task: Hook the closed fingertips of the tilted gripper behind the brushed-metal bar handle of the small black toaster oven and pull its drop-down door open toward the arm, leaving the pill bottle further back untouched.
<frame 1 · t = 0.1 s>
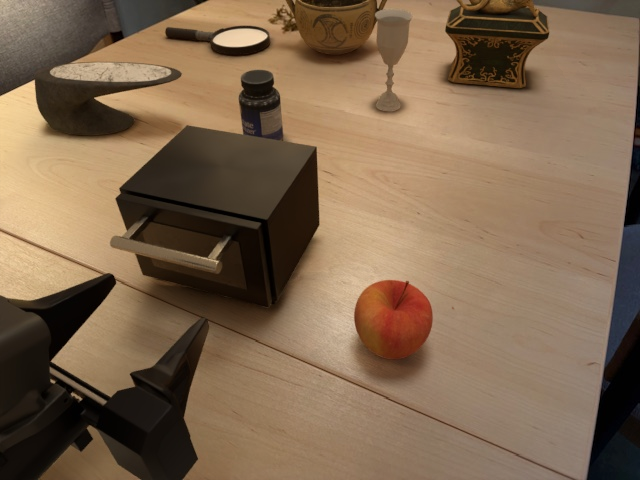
hand: (158, 298, 39), 14 cm above the table, tool horizontal, fingers open, 9 cm apart
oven: (238, 258, 63), on the table
oven door: (184, 266, 51), point 8 cm above the table, hinge at 0.0°
decorative box: (477, 76, 98), on the table
magnifying glass: (217, 43, 114), on the table
pill bottle: (264, 144, 82), on the table
ceramic bowl: (335, 49, 110), on the table
coffee table: (121, 125, 88), on the table
chalice: (388, 106, 90), on the table
apple: (390, 345, 53), on the table
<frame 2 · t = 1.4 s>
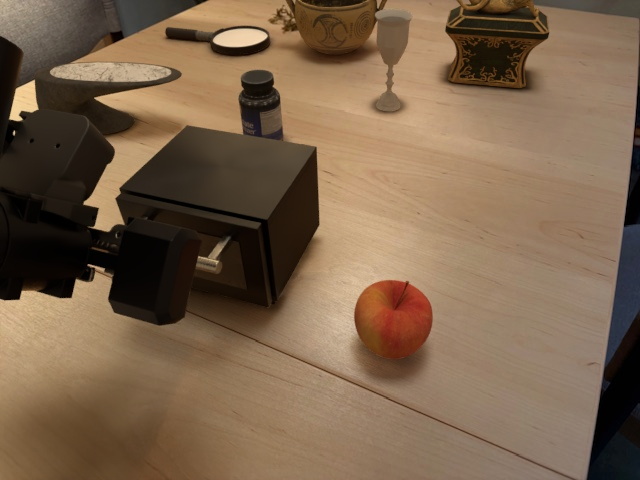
hand: (138, 254, 43), 14 cm above the table, tool tilted 45°, fingers open, 5 cm apart
nothing on the table moved.
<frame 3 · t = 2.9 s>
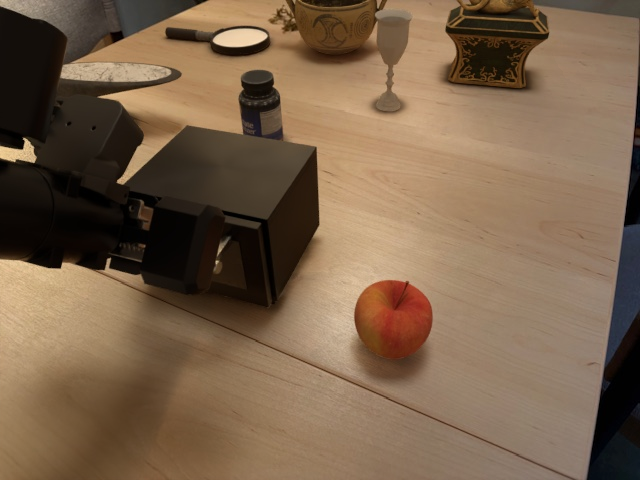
hand: (160, 235, 46), 13 cm above the table, tool tilted 45°, fingers closed
nothing on the table moved.
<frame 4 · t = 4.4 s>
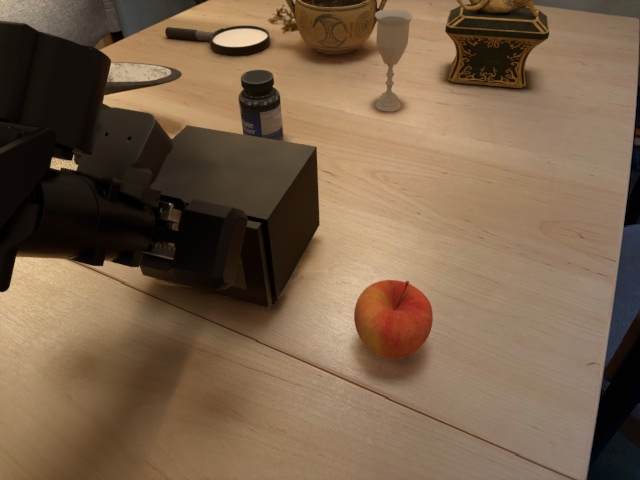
hand: (183, 233, 50), 11 cm above the table, tool tilted 45°, fingers closed, pressing on oven door
oven door: (184, 266, 51), point 7 cm above the table, hinge at 0.0°, touching gripper
everything else where it was.
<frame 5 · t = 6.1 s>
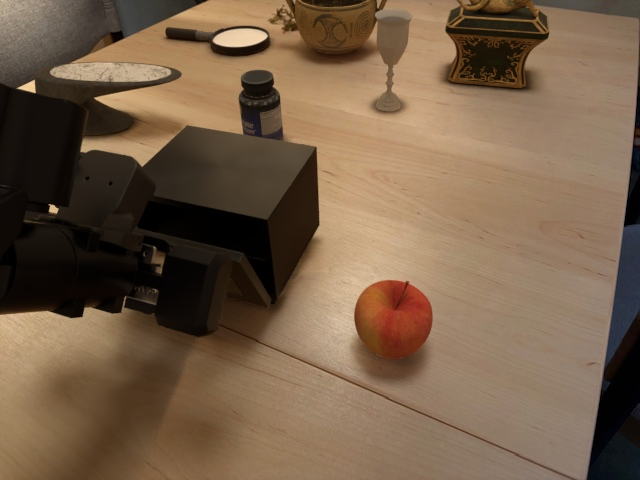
hand: (170, 269, 49), 9 cm above the table, tool tilted 45°, fingers closed, pressing on oven door
oven door: (177, 285, 50), point 7 cm above the table, hinge at 20.7°, touching gripper
everything else where it was.
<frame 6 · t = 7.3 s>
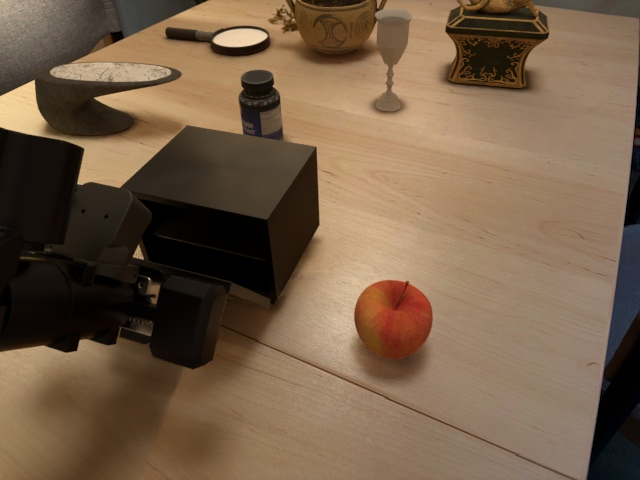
hand: (166, 295, 49), 7 cm above the table, tool tilted 45°, fingers closed, pressing on oven door
oven door: (174, 300, 50), point 6 cm above the table, hinge at 35.6°, touching gripper
everything else where it was.
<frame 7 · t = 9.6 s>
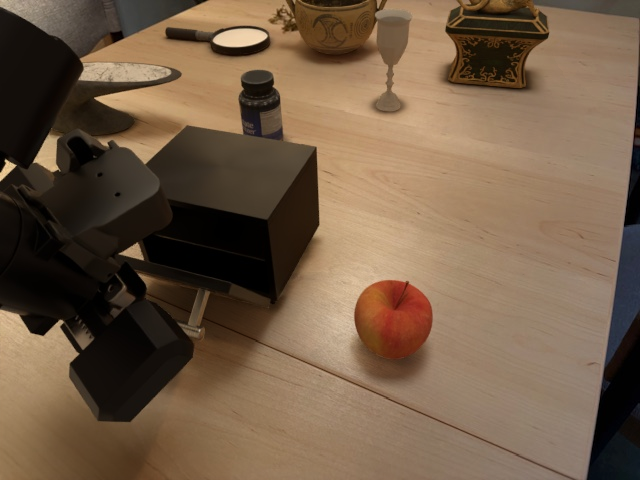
hand: (146, 308, 41), 12 cm above the table, tool tilted 30°, fingers closed
oven door: (174, 300, 50), point 5 cm above the table, hinge at 35.9°
everything else where it was.
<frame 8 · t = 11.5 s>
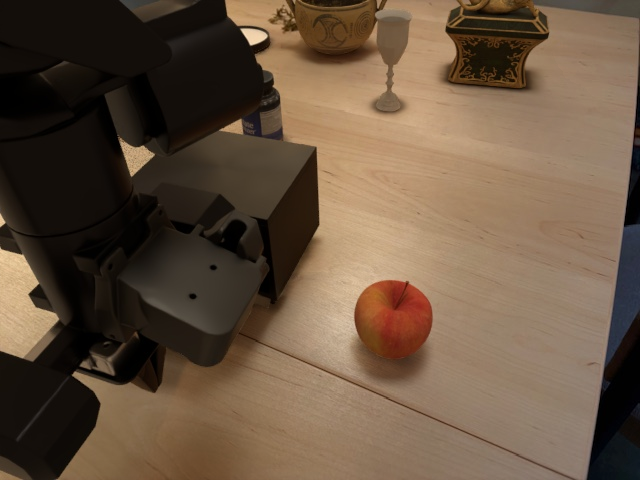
hand: (152, 386, 35), 13 cm above the table, tool pointing down, fingers closed
nothing on the table moved.
at the end: oven door at +36° (first picture: +0°); pill bottle moved 0.2 cm from its start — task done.
